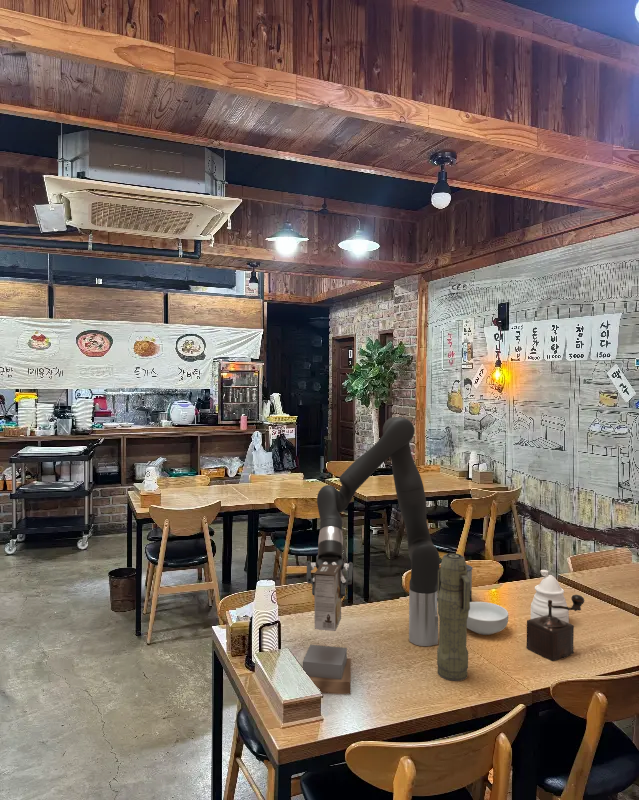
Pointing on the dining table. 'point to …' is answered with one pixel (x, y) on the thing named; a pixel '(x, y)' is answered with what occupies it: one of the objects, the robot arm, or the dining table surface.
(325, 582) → the coffee box
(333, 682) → the walnut base block
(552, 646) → the manual coffee grinder
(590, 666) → the dining table surface
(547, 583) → the honey pot
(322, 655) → the grey square block
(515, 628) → the dining table surface
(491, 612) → the cereal bowl
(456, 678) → the thermos
